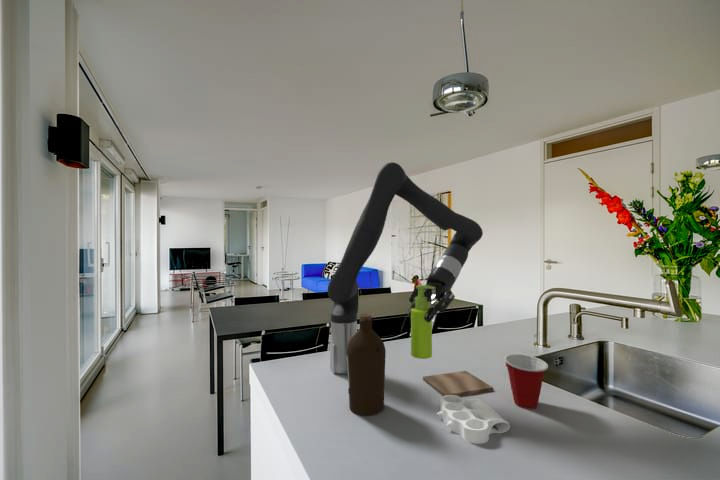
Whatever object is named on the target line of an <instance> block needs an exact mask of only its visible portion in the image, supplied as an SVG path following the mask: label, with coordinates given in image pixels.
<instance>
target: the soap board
mask: <svg viewBox="0 0 720 480" xmlns="http://www.w3.org/2000/svg"><path fill="white" fill-rule="evenodd" d="M422 381H424V382H425V383H426V384H428V386H430V387H431V388H432V389H433V390H435V391H436V393H438V394H440V395H441V397H443V396H445V395H455V396H459V397H463V396H468V395H474V394H475V395H476V394H482V393H487V392H494V386H492V385H490V384H489V383H486V382H485V381H483V380H481V379H480V378H478V377H476V376H475V375H473V374H472V373H471V372H468V371H467V370H463V371H455V372H447V373H440V374H439V373H438V374H432V375H425V376H422Z"/></svg>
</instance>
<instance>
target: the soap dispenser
mask: <svg viewBox="0 0 720 480" xmlns="http://www.w3.org/2000/svg"><path fill="white" fill-rule="evenodd" d="M415 287H416V289H418V296H417V297H415V298H414V299H415V308H412V309H411V318H410V355H411V356H412V357H413V358H415V359H420V360H421V359H422V360H427V359H429V358H432V356H433V328H432V327H433V322H432V321H433V320H432V321H430V322H426V320H425V319H424V316H425V315H426V313H427V311H428V310H429V308H430V307H429V308H428V302H427V297H425V296H424V288H430V289H435V287H434V286H429V285H426V284H419V285H415Z"/></svg>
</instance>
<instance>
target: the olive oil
mask: <svg viewBox="0 0 720 480" xmlns="http://www.w3.org/2000/svg"><path fill="white" fill-rule="evenodd" d="M358 321H359V324H358V325H359V328H358V329H357V333H356V334H355V335H354V336H353V337H352V338H351V339H350V341H349V343H348V346H347V352H346V354H347V368H348V374H347V383H348V389H347V390H348V391H347V392H348V402H349V409H350V411H351V412H352V413H354V414H356V415H359V416H374V415H377V414H380V413H381V412H383V410H384V409H385V383H386V382H385V381H386V379H385V377H386V375H385V373H386V357H387V356H386V353H387V352H386V347H385V343H384V341H383V339H382V338H381V337H380V336H379V335H378V334H377V333H376V332H375V331H374V329H373V327H372V326H373V320H372V314H369V313H362V314H360V315H359V320H358Z"/></svg>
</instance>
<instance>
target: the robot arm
mask: <svg viewBox="0 0 720 480" xmlns="http://www.w3.org/2000/svg"><path fill="white" fill-rule="evenodd" d="M395 196H397V197H399V198H401V199H403V200H404V201H406V202H407V203H409V204H410V205H411V206H412V207H414V208H415V209H416V210H417V211H419V212H420V213H421V215H422V216H424V217H425V218H426V219H427V220H429V221H430V222H431V223H432V224H434V225H435V226H437V227H438V228H439V229H441V230H443V231H448V230H453V231H454V235H453V236H452V238H451V240H450V242H449V245H448V246H447V248H446V249H445V250H444V252H443V254H442V256H441V257H440V258H439V260H437V262H436V263H435V265H434V267H433V268H432V269H431V271H430V273H429V275H428V276H427V278H426V284H425V285H429V286H434V287H435V289H430V288H424V296H425V297H427V303H428V302H429V303H430V302H431V307H429V310H428V311H427V313H426V315H425V316H424V319H425V320H426V322H430V321H433V319H434V317H435V316H436V314H437V313H439V312H445V311H446V310H447V308H448V307H449V306H450V304H451V303H452V302H453V300H454V299H455V297H456V296H455V294H454V293H453V291H452V288H453V286H454V285H455V283H456V281H457V279H458V277H459V276H460V274H461V271H462V269H463V267H464V265H465V264H466V261H467V260H468V257H469V253H470V250H472V248H473V247H474V246H475V244H477V243H478V242H479V241H480V240H481V238H482V237H483V234H484V233H483V229H482V227H481V225H480V224H478V222H477V221H476V220H473V219H472V218H469V217H466V216H465V215H463V214H460V213H457V212H455V211H454V210H453V209H451V208H450V207H449V206H448V205H446V204H445V203H443V202H442V201H440V200H439V199H437V198H436V197H434V196H433V195H431V194H429V193H428V192H426V191H425V190H423V189H422V188H420V186H418V185H417V184H416V183H414V182H413V181H412V179H411V178H410V177H409V176H408V175H407V174H406V171H405V170H404V168H403V167H402V166H401V165H400V164H399V163H397V162H387V163H385V164H384V165H382V166H381V167H380V169H379V171H378V172H377V175H376V178H375V181H374V184H373V187H372V189H371V193H370V197H369V199H368V201H367V202H366V205H365V206H364V208H363V210H362V212H361V215H360V216H359V219H358V221H357V223H356V225H355V227H354V229H353V231H352V234H351V237H350V239H349V241H348V244H347V246H346V249H345V251H344V253H343V257H342V258H341V261H340V263H339V265H338V267H337V269H336V270H335V271H334V273H333V275H332V277H331V279H330V280H329V282H328V286H327V295H328V297H329V299H330V301H332V302H333V309H332V310H331V313H330V341H329V369H330V371H331V372H332V374H339V375H341V374H342V375H348V368H347V354H346V352H347V346H348V343H349V341H350V339H351V338H352V337H353V336H354V335H355V334H356V333H357V331H358V318H357V317H358V313H359V296H360V295H359V284H358V281H357V278H358V276H359V273H360V272H361V269H362V268H363V266H364V265H365V263H366V262H367V261H368V259H369V258H370V257H371V255H372V253H374V251H375V249H376V246H377V245H378V242H379V241H380V238H381V236H382V234H383V230H384V227H385V224H386V221H387V216H388V211H389V209H390V206H391V204H392V202H393V199H394V198H395ZM417 296H418V289H416V286H415V287H414V289H413V291H412V293H411V294H410V297H409V299H408V301H409V302H410V304H411V305H410V308H409V309H408V311H407V316H408V317H409V319H411V309H412V308H415V297H417Z"/></svg>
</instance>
